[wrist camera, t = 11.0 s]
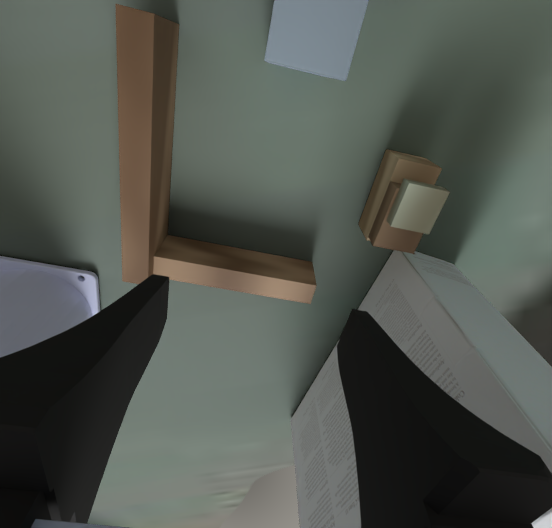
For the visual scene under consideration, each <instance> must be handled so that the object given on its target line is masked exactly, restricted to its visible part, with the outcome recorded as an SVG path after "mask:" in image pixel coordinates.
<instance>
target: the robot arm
mask: <svg viewBox="0 0 552 528" xmlns="http://www.w3.org/2000/svg"><path fill="white" fill-rule="evenodd" d="M81 276H83V277H85V279H84V278H82V277H81ZM168 291H169V277H167V276H162V275H156V274H152V275H151V276H149V277H148V278H146V279H145V280H144V281H142V282H141V283H140V284H139V285H137V286H136V287H135V288H133V289H132V290H131V291H129V292H128V293H127V294H125V295H124V296H122V297H121V298H119V299H118V300H117V301H115V302H114V303H112V304H111V305H109V306H108V307H106V308H105V309H103V310H101V311H100V300H99V286H98V277H97V275H96V274H95V273H93V272H91V271H85V270H79V269H74V268H68V267H62V266H56V265H50V264H45V263H39V262H33V261H27V260H21V259H16V258H10V257H4V256H0V528H128V527H117V526H106V525H96V524H87V522H88V519H89V516H90V513H91V510H92V506H93V503H94V500H95V497H96V494H97V491H98V488H99V485H100V482H101V480H102V477H103V474H104V471H105V468H106V465H107V462H108V459H109V456H110V454H111V451H112V448H113V445H114V442H115V440H116V437H117V434H118V431H119V429H120V426H121V423H122V421H123V418H124V415H125V413H126V410H127V407H128V405H129V402H130V400H131V398H132V396H133V393H134V391H135V389H136V387H137V385H138V383H139V381H140V379H141V377H142V375H143V373H144V371H145V369H146V367H147V365H148V363H149V361H150V359H151V357H152V355H153V353H154V351H155V349H156V347H157V344H158V342H159V340H160V337H161V334H162V331H163V328H164V325H165V322H166V319H167V308H168ZM337 356H338V367H339V373H340V378H341V382H342V387H343V391H344V396H345V400H346V404H347V409H348V413H349V418H350V422H351V427H352V433H353V441H354V449H355V457H356V467H357V477H358V488H359V502H360V516H361V528H534V527H533V526H532V524H531V523H532V522H534V521H535V520H536V519H538V518H539V517H540V516H542V515H543V514H544V513H546V512H547V511H548V510H550V509H551V508H552V473H551V472H550V470H549V469H548V467H547V466H546V464H545V463H544V461H543V460H542V458H541V457H540V456H539V455H537V454H536V453H534V452H532V451H531V450H529V449H527V448H526V447H524V446H522V445H521V444H519V443H517V442H516V441H514V440H512V439H511V438H509V437H507V436H506V435H504V434H503V433H501V432H499V431H498V430H496V429H495V428H493V427H492V426H490V425H489V424H487V423H486V422H485V421H483V420H482V419H480V418H479V417H477V416H476V415H475V414H473V413H472V412H470V411H469V410H468V409H466V408H465V407H464V406H462V405H461V404H460V403H459V402H457V401H456V400H455V399H453V398H452V397H451V396H450V395H448V394H447V393H446V392H445V391H444V390H442V389H441V388H440V387H439V386H438V385H437V384H436V383H434V382H433V381H432V380H431V379H430V378H429V377H428V376H427V375H426V374H424V373H423V372H422V371H421V370H420V369H419V368H418V367H417V366H416V365H415V364H414V363H413V362H412V361H411V360H410V359H409V358H408V357H407V355H406V354H405V353H404V352H403V351H402V350H401V349H400V348H399V347H398V346H397V345H396V343H395V342H394V341H393V340H392V339H391V338H390V337H389V336H388V334H387V333H386V332H385V331H384V330H383V329H382V327H381V326H380V325H379V324H378V323H377V322H376V321H375V319H374V318H373V317H372V316H371V315H370V314H369V313H368V312H367V311H362V310H356V309H352V311H351V313H350V316H349V318H348V321H347V323H346V325H345V328H344V330H343V332H342V335H341V337H340V340H339V342H338V344H337Z"/></svg>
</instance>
